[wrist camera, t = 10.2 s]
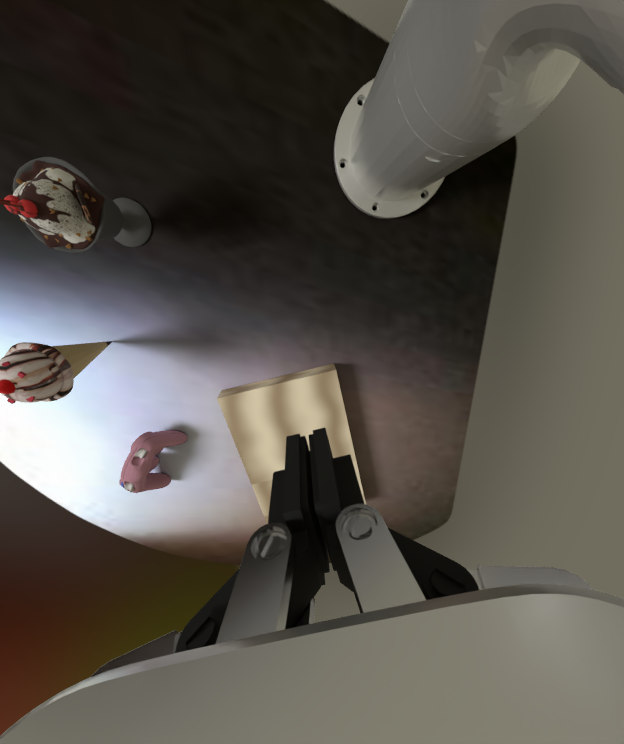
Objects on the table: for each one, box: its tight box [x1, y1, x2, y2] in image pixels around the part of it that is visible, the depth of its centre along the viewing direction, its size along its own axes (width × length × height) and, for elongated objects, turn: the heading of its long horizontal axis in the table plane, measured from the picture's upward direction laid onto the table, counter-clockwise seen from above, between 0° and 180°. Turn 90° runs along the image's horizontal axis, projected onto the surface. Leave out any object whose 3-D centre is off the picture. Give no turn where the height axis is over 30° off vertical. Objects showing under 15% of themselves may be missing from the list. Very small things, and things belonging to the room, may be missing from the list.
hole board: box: [217, 363, 366, 524], centre depth 43 cm, size 16×24×2 cm, turn 13°
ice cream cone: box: [0, 341, 112, 404], centre depth 30 cm, size 6×6×15 cm
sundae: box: [0, 157, 151, 253], centre depth 25 cm, size 7×7×15 cm
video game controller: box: [120, 430, 187, 493], centre depth 41 cm, size 10×5×7 cm, turn 154°
